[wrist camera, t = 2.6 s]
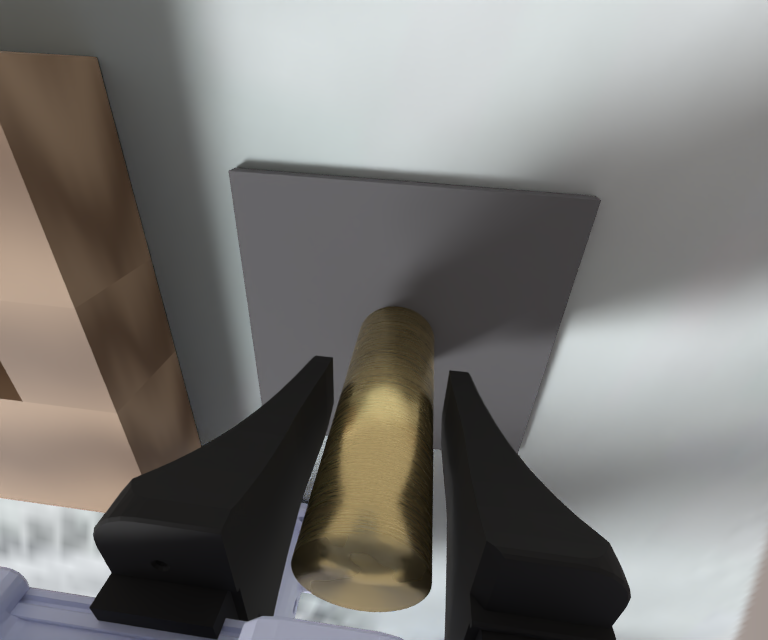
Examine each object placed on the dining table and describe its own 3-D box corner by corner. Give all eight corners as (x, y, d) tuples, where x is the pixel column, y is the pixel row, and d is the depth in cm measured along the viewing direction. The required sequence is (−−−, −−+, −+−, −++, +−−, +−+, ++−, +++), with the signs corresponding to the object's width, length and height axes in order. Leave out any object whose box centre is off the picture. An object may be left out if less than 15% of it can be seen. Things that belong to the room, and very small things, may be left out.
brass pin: (429, 372, 17) (423, 620, 9) (358, 364, 17) (295, 600, 9) (438, 310, 15) (440, 547, 8) (359, 302, 16) (285, 525, 8)
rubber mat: (514, 450, 19) (515, 458, 19) (269, 420, 20) (265, 427, 20) (595, 196, 13) (600, 200, 13) (234, 167, 14) (228, 170, 14)
